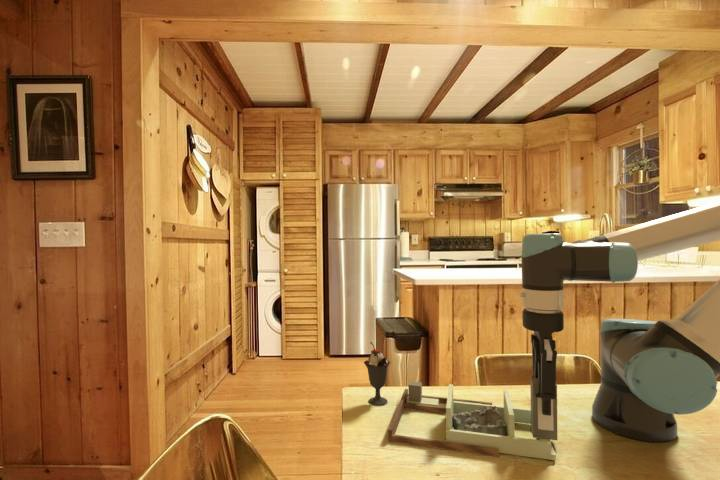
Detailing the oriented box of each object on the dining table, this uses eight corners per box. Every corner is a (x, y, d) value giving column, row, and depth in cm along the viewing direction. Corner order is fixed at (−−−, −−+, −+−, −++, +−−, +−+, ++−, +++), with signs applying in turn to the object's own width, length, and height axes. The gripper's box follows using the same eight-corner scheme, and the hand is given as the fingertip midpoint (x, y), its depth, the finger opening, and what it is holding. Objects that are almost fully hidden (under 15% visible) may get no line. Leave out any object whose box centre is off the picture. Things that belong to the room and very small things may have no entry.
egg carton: (497, 423, 84) (497, 405, 84) (510, 441, 76) (510, 421, 76) (449, 423, 84) (449, 405, 84) (458, 441, 76) (458, 421, 76)
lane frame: (492, 407, 92) (491, 397, 92) (498, 456, 71) (498, 444, 71) (405, 398, 98) (404, 388, 98) (388, 441, 77) (388, 429, 77)
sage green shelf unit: (548, 424, 82) (548, 370, 82) (564, 461, 69) (563, 396, 69) (449, 413, 88) (449, 362, 88) (446, 445, 75) (445, 385, 75)
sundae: (366, 395, 99) (365, 339, 99) (391, 396, 99) (390, 339, 98) (363, 407, 93) (362, 346, 93) (390, 408, 92) (389, 347, 92)
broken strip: (481, 407, 91) (481, 387, 91) (481, 414, 88) (481, 392, 88) (408, 399, 96) (408, 380, 96) (406, 405, 93) (406, 385, 93)
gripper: (517, 301, 85) (518, 405, 85) (528, 317, 69) (529, 443, 70) (554, 302, 83) (555, 408, 83) (573, 318, 67) (575, 448, 68)
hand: (543, 424), depth 76 cm, fingers closed on sage green shelf unit, 3 cm apart
